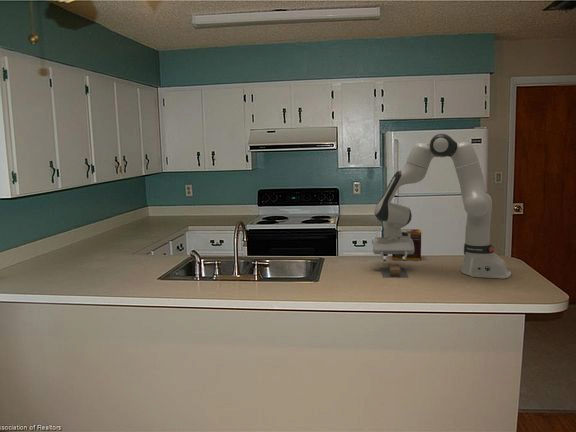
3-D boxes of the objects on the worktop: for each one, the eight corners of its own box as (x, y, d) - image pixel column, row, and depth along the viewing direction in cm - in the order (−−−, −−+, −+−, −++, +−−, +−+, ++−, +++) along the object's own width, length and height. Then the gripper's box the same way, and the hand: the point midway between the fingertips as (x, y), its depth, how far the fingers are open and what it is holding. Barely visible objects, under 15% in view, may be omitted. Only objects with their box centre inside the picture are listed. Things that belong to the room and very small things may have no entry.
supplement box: (421, 260, 279) (421, 232, 277) (392, 260, 282) (392, 232, 280) (420, 256, 289) (420, 229, 287) (392, 256, 292) (392, 228, 290)
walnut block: (389, 264, 256) (390, 269, 246) (398, 264, 255) (400, 269, 245) (389, 271, 256) (390, 276, 246) (398, 271, 256) (400, 276, 246)
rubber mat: (380, 268, 265) (380, 267, 265) (404, 268, 263) (404, 267, 263) (382, 278, 245) (382, 277, 245) (408, 278, 244) (408, 277, 244)
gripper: (371, 233, 261) (373, 257, 252) (413, 233, 258) (415, 257, 250) (371, 240, 266) (372, 264, 257) (412, 240, 263) (414, 263, 255)
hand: (394, 260), depth 254 cm, fingers open, 8 cm apart
